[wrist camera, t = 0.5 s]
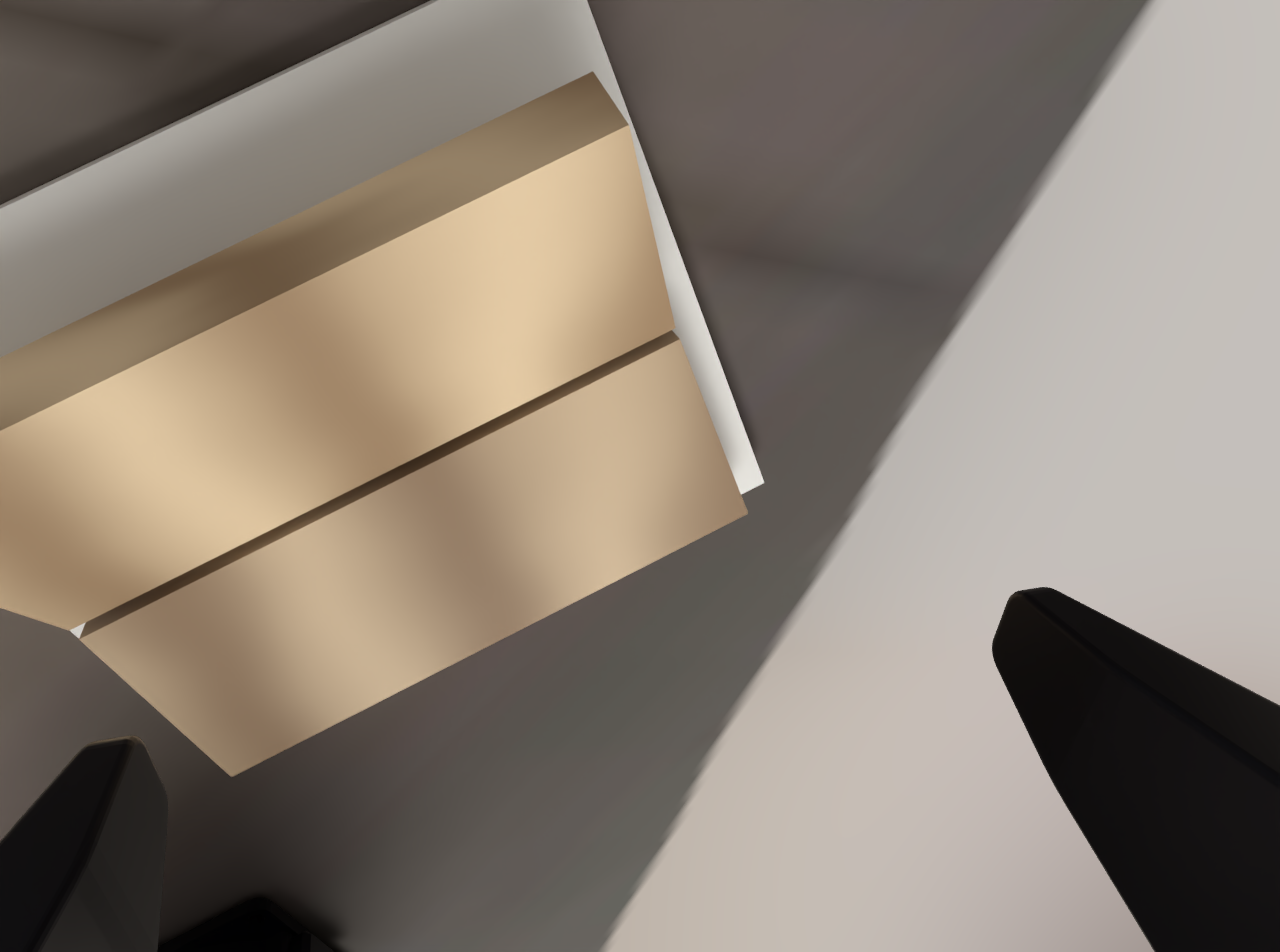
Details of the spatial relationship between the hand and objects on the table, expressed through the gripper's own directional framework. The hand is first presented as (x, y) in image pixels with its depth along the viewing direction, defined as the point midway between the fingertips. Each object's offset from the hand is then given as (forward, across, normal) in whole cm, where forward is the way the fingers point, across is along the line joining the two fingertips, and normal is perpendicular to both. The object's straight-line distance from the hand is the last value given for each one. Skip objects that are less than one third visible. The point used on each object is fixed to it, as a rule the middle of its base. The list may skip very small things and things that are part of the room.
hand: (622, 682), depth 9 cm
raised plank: (+11, +4, +1) cm, 12 cm away
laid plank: (+12, +2, +7) cm, 14 cm away
